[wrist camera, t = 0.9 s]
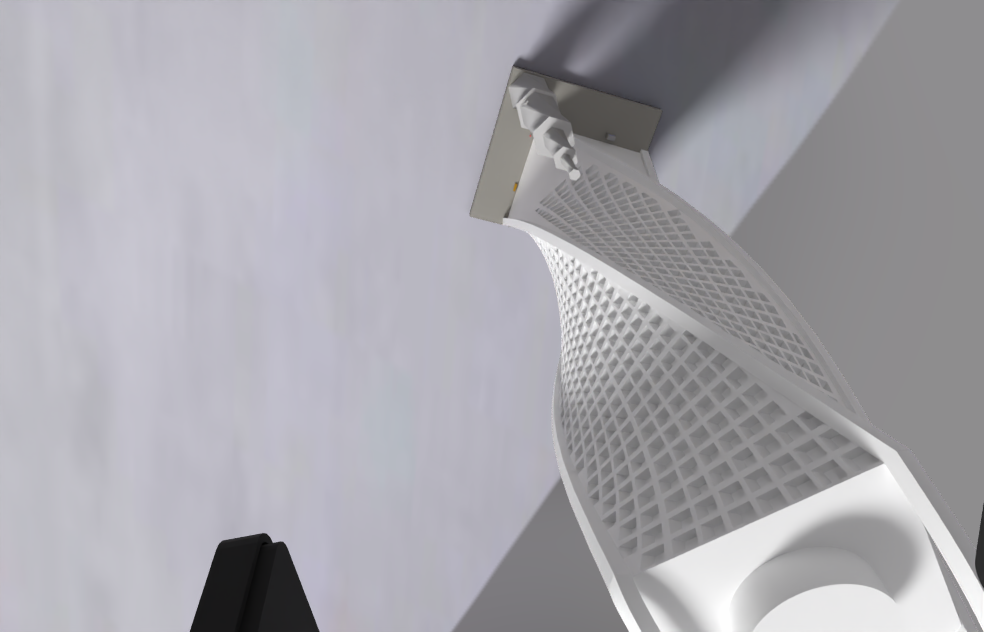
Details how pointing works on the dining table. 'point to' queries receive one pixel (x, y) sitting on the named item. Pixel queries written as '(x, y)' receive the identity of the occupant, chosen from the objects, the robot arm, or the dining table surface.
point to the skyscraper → (707, 403)
